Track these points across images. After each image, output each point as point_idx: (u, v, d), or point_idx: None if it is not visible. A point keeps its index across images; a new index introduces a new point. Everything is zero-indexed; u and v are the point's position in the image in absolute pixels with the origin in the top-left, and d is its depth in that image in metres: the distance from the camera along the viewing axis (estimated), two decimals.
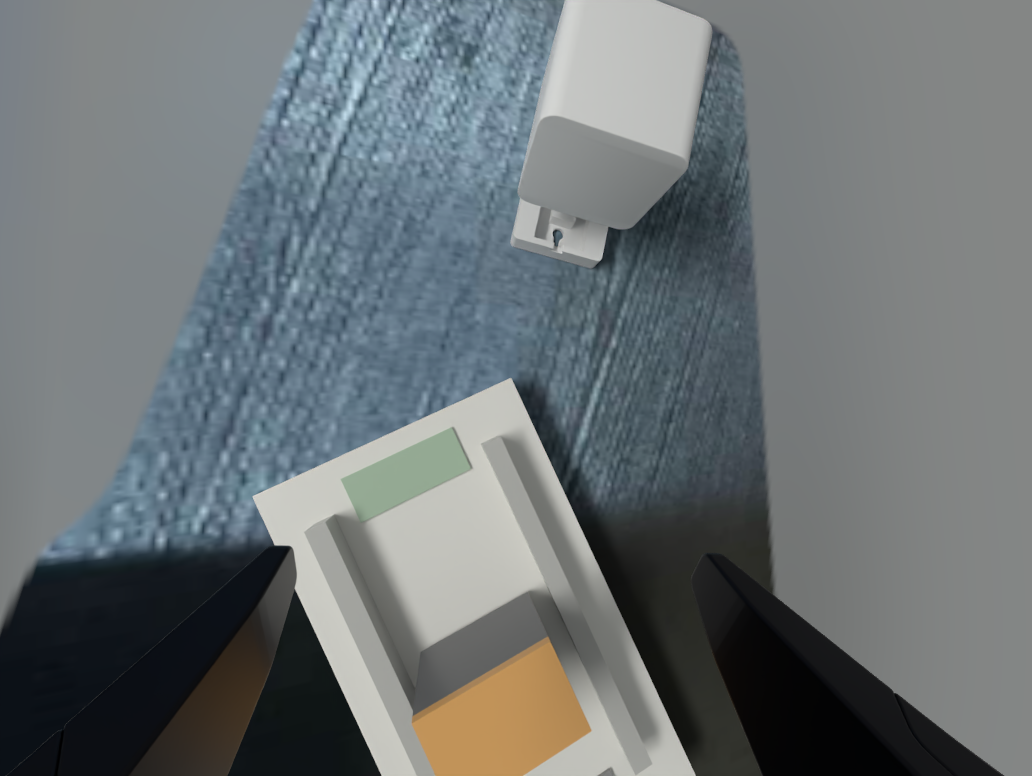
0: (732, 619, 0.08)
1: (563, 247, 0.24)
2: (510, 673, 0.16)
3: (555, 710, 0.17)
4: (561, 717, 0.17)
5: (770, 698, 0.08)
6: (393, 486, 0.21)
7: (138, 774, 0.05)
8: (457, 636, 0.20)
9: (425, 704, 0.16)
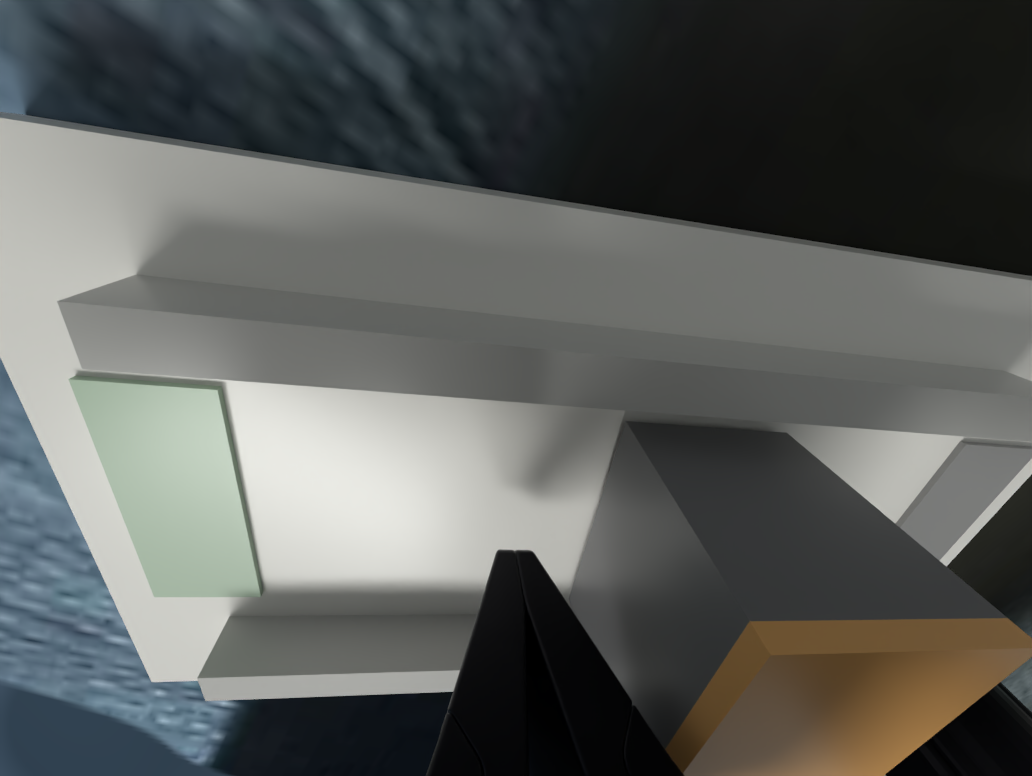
0: None
1: None
2: (728, 736, 0.06)
3: (904, 692, 0.06)
4: (930, 686, 0.06)
5: (533, 708, 0.07)
6: (203, 536, 0.09)
7: None
8: (589, 565, 0.10)
9: None
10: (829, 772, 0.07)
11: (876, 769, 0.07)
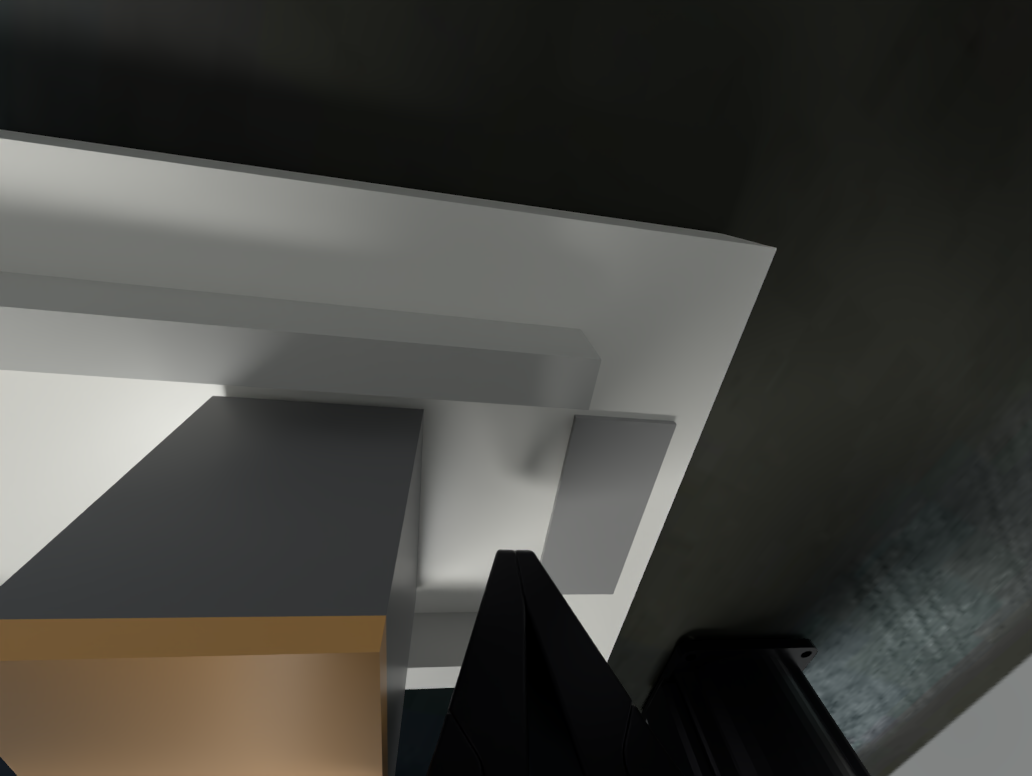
0: None
1: None
2: (36, 761, 0.05)
3: (238, 707, 0.05)
4: (272, 700, 0.05)
5: (533, 708, 0.07)
6: None
7: None
8: None
9: None
10: None
11: None
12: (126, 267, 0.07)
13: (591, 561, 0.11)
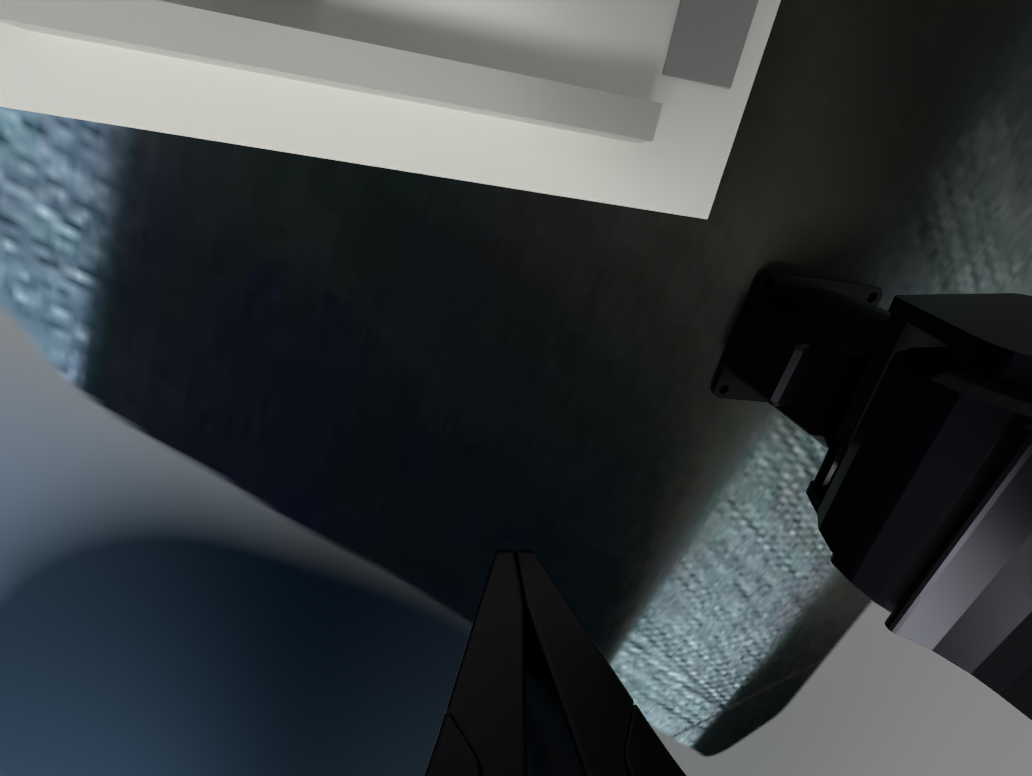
0: None
1: None
2: None
3: None
4: None
5: (534, 708, 0.07)
6: None
7: None
8: None
9: None
10: None
11: None
12: None
13: (719, 27, 0.13)
